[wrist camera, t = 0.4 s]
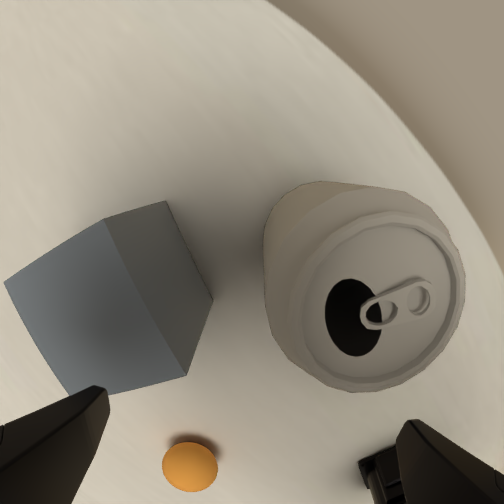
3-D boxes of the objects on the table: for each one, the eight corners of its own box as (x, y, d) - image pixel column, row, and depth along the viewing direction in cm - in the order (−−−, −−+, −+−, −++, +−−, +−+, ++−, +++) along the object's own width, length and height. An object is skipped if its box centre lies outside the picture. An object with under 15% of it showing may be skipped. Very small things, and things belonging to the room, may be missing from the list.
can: (244, 206, 20) (223, 248, 8) (352, 165, 19) (461, 157, 8) (286, 308, 22) (309, 436, 10) (385, 268, 21) (486, 355, 9)
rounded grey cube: (213, 301, 22) (186, 375, 13) (127, 333, 22) (74, 402, 14) (165, 200, 20) (103, 218, 11) (81, 245, 21) (3, 282, 12)
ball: (229, 458, 25) (225, 498, 21) (185, 466, 26) (176, 502, 21) (204, 427, 24) (195, 468, 20) (158, 436, 25) (145, 473, 20)
